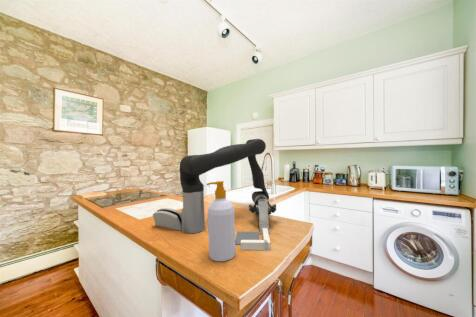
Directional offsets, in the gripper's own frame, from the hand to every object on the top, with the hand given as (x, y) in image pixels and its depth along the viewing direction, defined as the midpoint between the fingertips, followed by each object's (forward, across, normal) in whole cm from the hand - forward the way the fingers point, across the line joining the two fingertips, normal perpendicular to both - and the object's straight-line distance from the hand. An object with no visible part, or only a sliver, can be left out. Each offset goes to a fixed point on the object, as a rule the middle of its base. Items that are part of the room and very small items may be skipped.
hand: (263, 213), depth 77 cm
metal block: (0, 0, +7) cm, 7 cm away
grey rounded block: (-2, -44, +7) cm, 44 cm away
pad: (+9, -7, +7) cm, 13 cm away
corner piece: (+11, -4, +7) cm, 14 cm away
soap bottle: (+21, -15, +7) cm, 27 cm away
